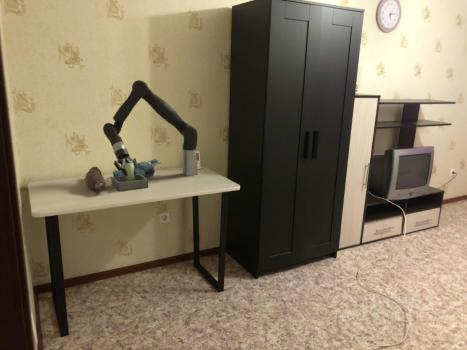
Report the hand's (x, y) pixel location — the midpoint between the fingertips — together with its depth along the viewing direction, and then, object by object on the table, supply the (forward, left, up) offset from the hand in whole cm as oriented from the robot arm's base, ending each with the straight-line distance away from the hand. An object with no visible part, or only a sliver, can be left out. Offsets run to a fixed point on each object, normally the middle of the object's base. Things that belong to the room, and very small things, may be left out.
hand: (130, 174), depth 219 cm
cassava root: (+19, -12, -8) cm, 24 cm away
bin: (0, -2, -8) cm, 8 cm away
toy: (-12, -23, -8) cm, 27 cm away
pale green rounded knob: (0, -2, -5) cm, 5 cm away
